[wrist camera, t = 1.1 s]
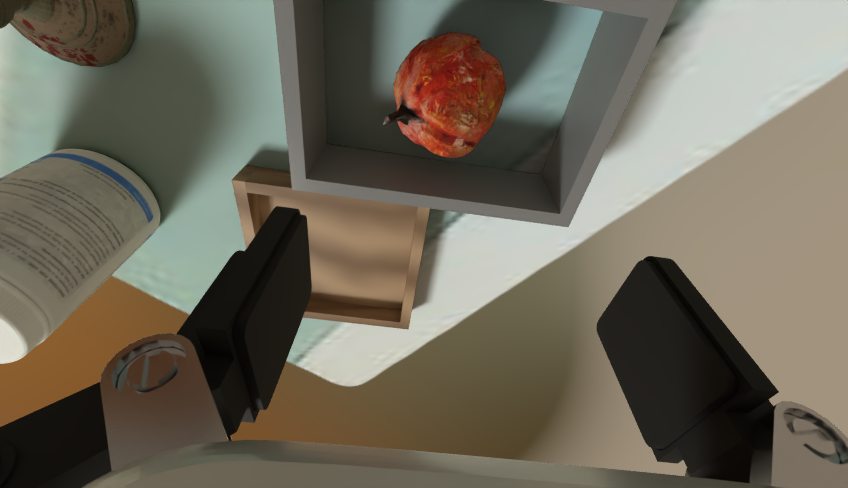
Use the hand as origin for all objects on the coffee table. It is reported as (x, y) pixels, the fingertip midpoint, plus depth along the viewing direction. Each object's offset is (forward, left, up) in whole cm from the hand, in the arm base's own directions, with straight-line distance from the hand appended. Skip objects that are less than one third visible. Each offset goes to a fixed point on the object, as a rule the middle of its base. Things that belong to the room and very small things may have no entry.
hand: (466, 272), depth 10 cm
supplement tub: (+14, -29, -20) cm, 38 cm away
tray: (+17, -8, -20) cm, 27 cm away
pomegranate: (0, 0, -20) cm, 20 cm away
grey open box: (0, 0, -20) cm, 20 cm away
